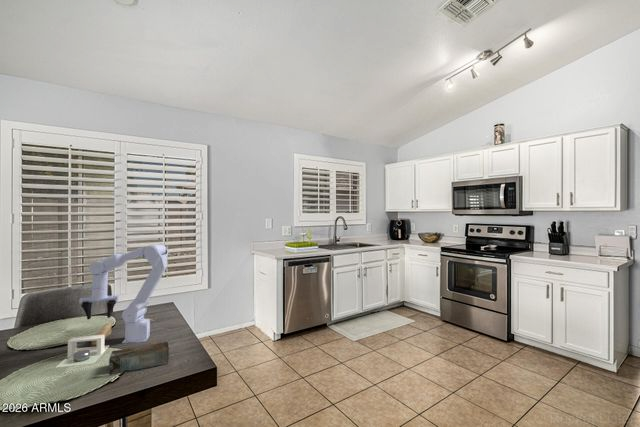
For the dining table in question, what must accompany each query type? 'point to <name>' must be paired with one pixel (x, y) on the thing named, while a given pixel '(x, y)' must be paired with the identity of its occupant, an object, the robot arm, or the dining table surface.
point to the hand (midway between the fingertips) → (99, 318)
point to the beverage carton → (138, 358)
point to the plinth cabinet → (73, 341)
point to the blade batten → (103, 332)
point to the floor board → (91, 360)
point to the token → (81, 356)
